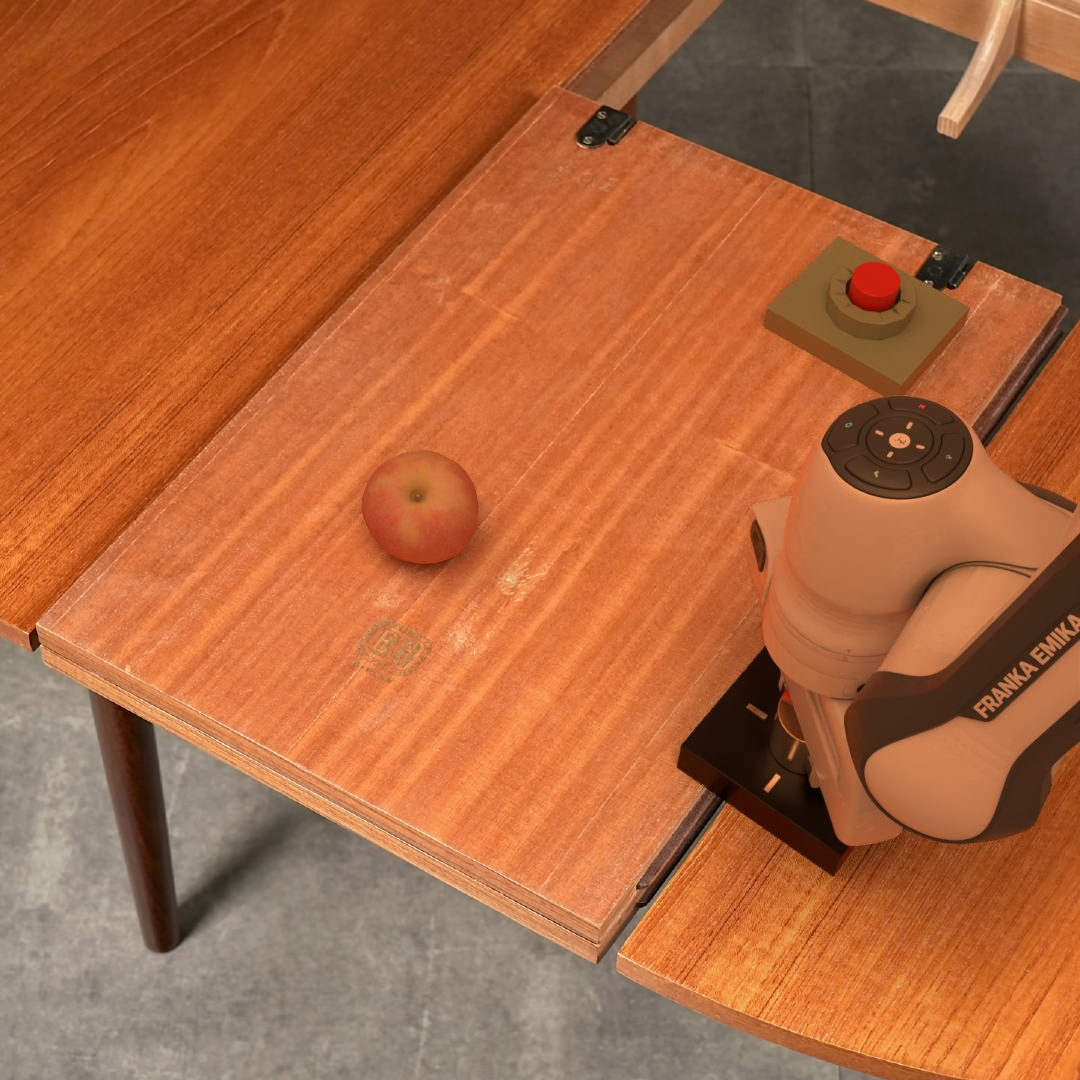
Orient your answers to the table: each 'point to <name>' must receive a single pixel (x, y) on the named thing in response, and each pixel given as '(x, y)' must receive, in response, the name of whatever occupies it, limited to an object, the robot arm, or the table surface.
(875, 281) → the button
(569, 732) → the table surface
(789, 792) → the panel
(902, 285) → the button block
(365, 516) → the apple
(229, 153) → the table surface
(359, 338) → the table surface
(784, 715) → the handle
